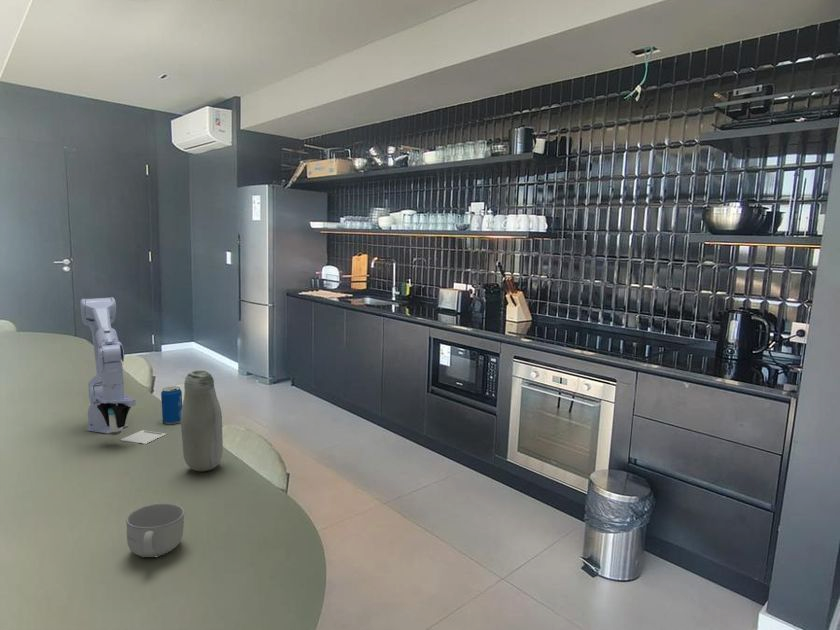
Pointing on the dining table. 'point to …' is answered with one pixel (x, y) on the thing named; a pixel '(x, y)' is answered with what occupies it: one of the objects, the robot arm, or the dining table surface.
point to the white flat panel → (143, 437)
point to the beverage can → (171, 404)
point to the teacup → (155, 529)
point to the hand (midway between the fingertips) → (116, 426)
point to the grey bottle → (201, 422)
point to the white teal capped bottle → (113, 423)
